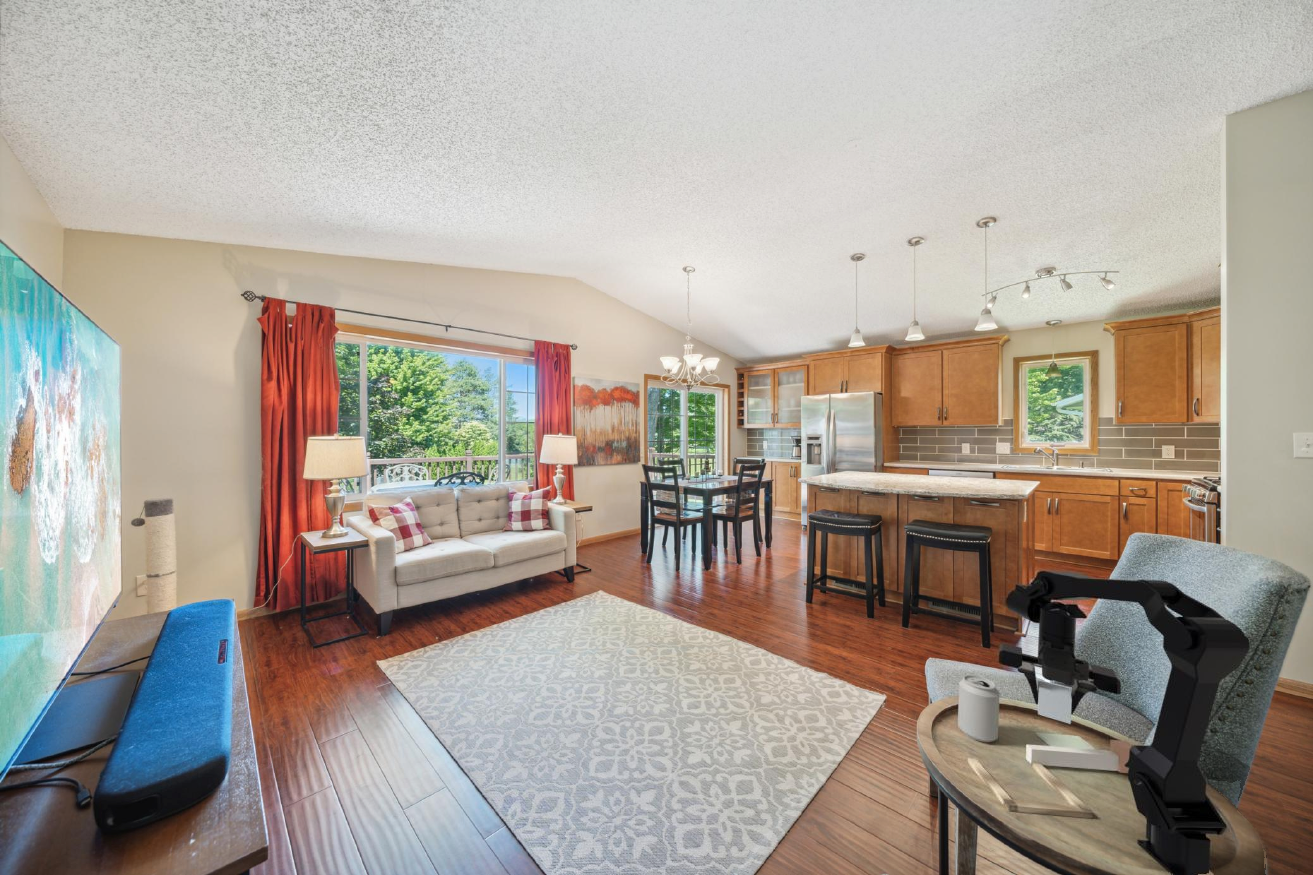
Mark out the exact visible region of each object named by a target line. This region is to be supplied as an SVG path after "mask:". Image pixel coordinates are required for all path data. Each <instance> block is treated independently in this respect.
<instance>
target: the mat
mask: <svg viewBox="0 0 1313 875" xmlns="http://www.w3.org/2000/svg"><path fill="white" fill-rule="evenodd" d="M1035 735H1036V736H1037V737H1039V739H1040V740H1042V741H1043V742H1044V743H1045V744H1047V746H1053V747H1066V748H1079V749H1092V750H1097V749H1096V748H1095V747H1094V746H1093V745H1091V744H1090V743H1088V742H1087V741H1086V740H1084V739H1083V738H1082V737H1081V736H1079V735H1073V734H1072V735H1070V734H1056V733H1046V732H1045V733H1044V732H1042V733H1041V732H1036V733H1035Z"/></svg>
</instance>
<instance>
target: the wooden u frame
mask: <svg viewBox="0 0 1313 875" xmlns="http://www.w3.org/2000/svg"><path fill="white" fill-rule="evenodd" d="M967 764H968V765H969V766H970V767H971V769H972V770H973V771H974V773H976V774H977V776H978V777H979V778H980V780H982V781H983V783H984V784H985V785H986V786H987V787H988V788H989V790H990V791H991V792H992V793H993V794H994V796H996V798H997V799H998V800H999V801H1000V803H1001V804H1002V805H1003V806H1004V807H1005V808H1006V809H1007V811H1008V810H1009V811H1008V812H1014V813H1015V812H1016V813H1025V814H1039V815H1048V816H1050V815H1052V816H1062V817H1074V818H1083V819H1085V818H1086V819H1094V812H1093V811H1092V810H1091V809H1090V808H1089V807H1088V806H1087V805H1086V804H1084V802H1082V800H1080V799H1079V798H1078V796H1076V795H1075V794H1074V793H1073V792H1072V791H1071V790H1069V789H1068V788H1067V787H1066V786H1065V785H1064V784H1063V783H1062V782H1061V781H1060V780H1059V779H1058V778H1056V776H1055V775H1053V774H1052V773H1051V771H1049V770H1048V769H1047V768H1046V767H1045V766H1044V765H1041V764H1037V763H1033V764H1031V765H1032V769H1033V770H1034V772H1036V773H1037V774H1038V775H1039V776H1040V777H1041V778H1042V779H1043V780H1044V781H1045V782H1047V784H1049V785H1050V787H1052V789H1054V790H1055V791H1056V792H1057V793H1058V794H1059V795H1060V796H1061V797H1062V798H1063V799H1064V800H1065V801H1066V802H1067V803H1068V804H1066V803H1065V804H1064V803H1053V802H1043V801H1030V800H1020V799H1019V800H1018V799H1012V798H1011V797H1010V796H1009V794H1008V793H1007V792H1006V791H1005V789H1003V788H1002V786H1001V785H1000V784H999V783H998V782H997V781H996V779H995V778H993V777H992V775H991V774H990V773H989V772H988V770H986V768H984V766H983V765H982V764H981V763H980V761H979V760H977V759H976V758H973V757H971V758H970V757H967Z"/></svg>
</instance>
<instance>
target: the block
mask: <svg viewBox="0 0 1313 875" xmlns="http://www.w3.org/2000/svg"><path fill="white" fill-rule="evenodd" d="M1037 690H1038V704H1036V705H1037V706H1036V707H1037V715H1040V716H1043V717H1045V718H1049V719H1053V720H1055V721H1060V722H1063V723H1065V724H1069V725H1071V724H1072V714H1071V705H1072V698H1071V690H1070V688H1068V687H1066V686H1061V685H1057V684H1053V683H1050V682H1045V681H1042V680H1037Z"/></svg>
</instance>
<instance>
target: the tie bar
mask: <svg viewBox="0 0 1313 875" xmlns="http://www.w3.org/2000/svg"><path fill="white" fill-rule="evenodd" d="M1109 743H1110V745H1109V747H1110V748H1109V750H1105V749H1104V750H1102V749H1096V750H1092V749H1079V748H1066V747H1053V746H1049V745H1040V744H1039V745H1037V744H1026V746H1025V747H1026V748H1025V749H1026V751H1025V752H1026V753H1025V760H1026V761H1027V762H1028V763H1029V764H1031V765H1033V763H1037V764H1041V765H1042V766H1051V767H1061V768H1062V767H1065V768H1067V767H1068V768H1076V769H1089V770H1098V771H1099V770H1101V771H1103V770H1104V771H1113V772H1115V771H1116V772H1118V773H1122V774H1128V769H1129V768H1128V767H1125V764H1126V763H1127V762H1128V760H1129V752H1130V748H1131V746H1132V745H1133V744H1131V743H1130V742H1128V741H1127V740H1120V739H1119V740H1117V739H1110V742H1109Z"/></svg>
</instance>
